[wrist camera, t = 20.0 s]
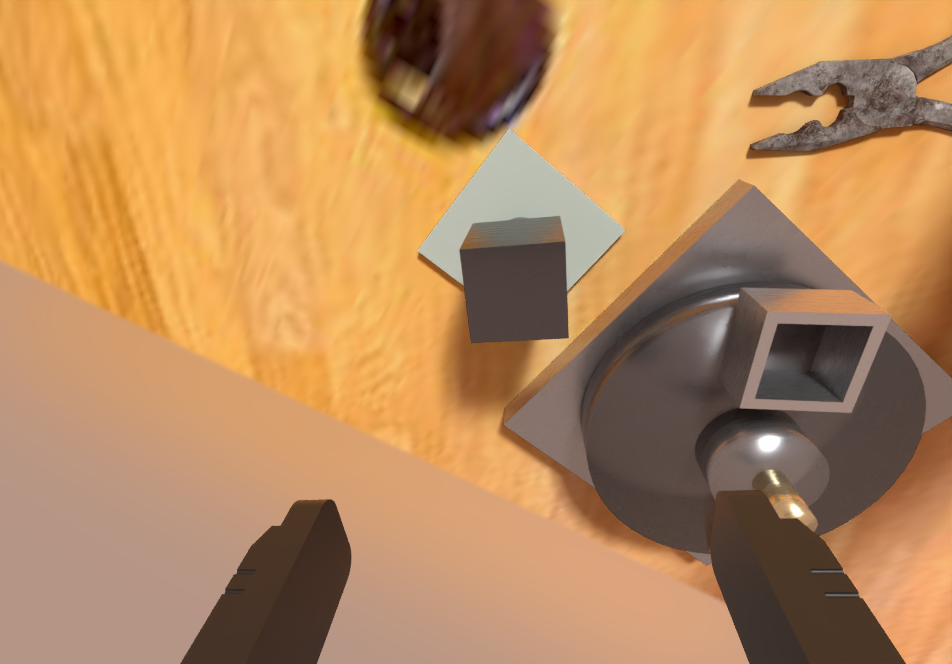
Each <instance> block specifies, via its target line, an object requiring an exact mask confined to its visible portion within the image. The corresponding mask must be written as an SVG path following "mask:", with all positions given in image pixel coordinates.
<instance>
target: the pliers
mask: <svg viewBox="0 0 952 664" xmlns="http://www.w3.org/2000/svg"><path fill="white" fill-rule="evenodd" d="M951 62H952V36H950V37H948V38H947V39H945V40H943V41H941V42H939V43H937V44H934V45H932V46H929V47H927V48H924V49H922V50H918V51H914V52H911V53H907V54H904V55H901V56H897V57H894V58H891V59H871V60H845V61H821V62H818V63H816V64H814V65H811V66H809V67H807V68H804V69H802V70H800V71H797V72H795V73H793V74H790V75H788V76H786V77H783V78H781V79H779V80H776V81H774V82H772V83H769V84H767V85H765V86H763V87H760V88H758V89H756V90H753V94H752V95H788V94H790V93H793V91H798V90H800V91H804V93H805V94H807V95H822V94H823V92H824V91H825V90H826V88H827V87H828V86H829V85H832V84H834V83H836V84H838V85H840V86H841V93H842V95H849V100H848V106H849V107H847V108H844V109H841V110H840V112H839V115H838V118H837V120H836V121H835V122H833V123H832V124H831V125H830V126H828V127H823V126H822V124H821V123H820V122H819V121H817V120H813V121H810V122H808V123H805V125H803V126H802V128H800V129H799V130H798V131H796V132H794V133H791V134H784V133H782V134H781V133H779V134H776V135H774V136H771V137H769V138H766V139H763V140H761V141H758V142H756V143H753V144H750V146H751V149H754V150H795V151H815V150H819V149H822V148H825V147H828V146H832V145H835V144H838V143H841V142H844V141H848V140H851V139H854V138H857V137H861V136H863V135H866V134H869V133H872V132H875V131H878V130H880V128H893V127H903V126H911V125H929V126H934V127H940V128H943V129H947V130H950V131H952V104H950V103H946V102H942V101H938V100H932V99H927V98H922V97H917V96H915V93H916V86H917V83H918V82H919V81H921V80H922V79H923V78H925V77H926V76H928V75H930V74H932V73H933V72H935V71H937V70H939V69H940V68H942V67H944V66H946V65H947V64H949V63H951Z"/></svg>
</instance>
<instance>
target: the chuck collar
mask: <svg viewBox="0 0 952 664" xmlns="http://www.w3.org/2000/svg"><path fill="white" fill-rule="evenodd" d="M891 317H892V314H891V313H889V312H887V311H886V310H884V309H882V308H881V307H879V306H877V305H876V304H874V303H872V302H870V301H869V300H867V299H865V298H864V297H862V296H860V295H859V294H857V293H855V292H854V291H852V290H821V289H811V288H808V287H804V286H799V285H794V284H789V283H780V282H768V281H758V282H740V283H733V284H726V285H720V286H716V287H712V288H708V289H705V290H701V291H697V292H695V293H692V294H689V295H687V296H684V297H682V298H679V299H676V300H674V301H672V302H670V303H669V304H667V305H665V306H663V307H661V308H659V309H657V310H655V311H654V312H652V313H651V314H649V315H648V316H646V317H645V318H643V319H642V320H640V321H639V322H637V323H636V324H635V325H634V326H633V327H631V328H630V329H629V330H628V331H627V332H626V333H624V334H623V335H622V336H621V337H620V338H619V339H618V340H617V342H616V343H615V344H614V345H613V346H612V347H611V348H610V349H609V350H608V352H607V353H606V355H605V356H604V357H603V359H602V360H601V362H600V363H599V364H598V366H597V368H596V370H595V372H594V374H593V376H592V378H591V379H590V382H589V385H588V388H587V390H586V393H585V397H584V402H583V407H582V422H581V426H582V434H583V441H584V446H585V452H586V457H587V462H588V468H589V472H590V475H591V478H592V481H593V484H594V486H595V488H596V490H597V492H598V494H599V496H600V498H601V499H602V500H603V502H604V503H605V505H606V506H607V507H608V509H609V510H610V511H611V512H612V513H613V514H614V515H615V516H616V517H617V518H618V519H619V520H620V521H622V522H623V523H624V524H626V525H627V526H628V527H629V528H631V529H632V530H634V531H636V532H637V533H639V534H641V535H643V536H644V537H646V538H648V539H651V540H653V541H655V542H658V543H660V544H663V545H666V546H669V547H672V548H676V549H680V550H684V551H689V552H694V553H703V554H711V553H710V541H711V533H712V525H713V517H714V509H715V501H716V495H717V493H718V492H719V491H736V490H761V491H762V492H764V494H765V495H766V496H767V498H768V499H769V501H770V503H771V504H772V506H773V508H774V509H775V511H776V513H777V514H778V516H779V518H797V519H799V520H800V521H801V522H802V523H803V524H805V525H806V526H807V527H808V528H809V529H811V530H812V531H813V532H814V533H815V534H817V535H818V536H820V535H822V534H825V533H827V532H829V531H831V530H833V529H835V528H837V527H839V526H841V525H842V524H844V523H846V522H848V521H849V520H851V519H852V518H854V517H855V516H857V515H858V514H860V513H862V512H863V511H864V510H865V509H867V508H868V507H869V506H870V505H872V504H873V503H874V502H876V501H877V500H878V499H879V498H880V497H881V496H882V495H883V494H884V493H885V492H886V491H887V490H888V489H889V488H890V487H891V486H892V485H893V484H894V483H895V481H896V480H897V479H898V478H899V476H900V475H901V474H902V473H903V471H904V470H905V468H906V467H907V465H908V463H909V462H910V460H911V458H912V457H913V455H914V453H915V451H916V448H917V446H918V443H919V441H920V439H921V435H922V431H923V427H924V423H925V414H926V398H925V391H924V385H923V382H922V379H921V376H920V373H919V370H918V368H917V366H916V365H915V363H914V361H913V360H912V358H911V356H910V354H909V353H908V352H907V351H906V350H905V348H904V347H903V346H902V345H901V344H900V343H899V342H898V341H897V340H896V339H895V338H894V337H893V336H892V335H890V334H889V333H888V332H886V329H887V327H888V324H889V322H890V320H891Z"/></svg>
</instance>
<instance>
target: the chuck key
mask: <svg viewBox="0 0 952 664" xmlns="http://www.w3.org/2000/svg"><path fill="white" fill-rule="evenodd" d="M459 252H460V260H461V268H462V275H463V283H464V291H465V299H466V307H467V314H468V322H469V330H470V338H471V343H481V342H501V341H522V340H542V339H562V338H569V336H568V306H567V275H566V245H565V237H564V232H563V228H562V223H561V218H560V216H551V217H540V218H525V217H518V218H514V219H511V220H505V221H493V222H482V223H473V224H472V226H471V228H470V230H469V232H468V234H467V236H466V238H465V239H464V241H463V243H462V245H461V247H460V249H459Z"/></svg>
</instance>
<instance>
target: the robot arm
mask: <svg viewBox="0 0 952 664" xmlns="http://www.w3.org/2000/svg"><path fill="white" fill-rule="evenodd" d="M710 553H711V560H712V565H713V570H714V573H715V576H716V579H717V582H718V584H719V587H720V589H721V592H722V594H723V597H724V600H725V602H726V605H727V607H728V610H729V612H730V615H731V617H732V620H733V623H734V625H735V628H736V630H737V633H738V635H739V638H740V640H741V643H742V645H743V648H744V651H745V653H746V656H747V658H748V661H749V663H750V664H906V663H905V662H904V660H903V659H902V657H901V656H900V654H899V653H898V651H897V649H896V648H895V646H894V645H893V643H892V642H891V640H890V639H889V637H888V636H887V634H886V633H885V631H884V630H883V628H882V627H881V625H880V624H879V622H878V621H877V619H876V618H875V616H874V615H873V613H872V612H871V610H870V609H869V607H868V606H867V604H866V603H865V601H864V600H863V598H860V597H859V594H858V591H857V589H856V588H855V586H854V585H853V583H852V582H851V580H850V579H849V577H848V576H847V574H844V573H843V568H842V567H841V565H840V564H839V562H838V561H837V559H836V558H835V556H834V555H833V553H832V552H831V550H830V549H829V547H828V546H827V544H826V543H825V541H824V540H822V539H821V538H820V537H819V536H818V535H817V534H815V533H814V532H813V531H812V530H811V529H809V528H808V527H807V526H806V525H805V524H803V523H802V522H801V521H800V520H799V519H797V518H779V516H778V514H777V513H776V511H775V509H774V508H773V506H772V504H771V503H770V501H769V499H768V498H767V496H766V495H765V494H764V492H762V491H761V490H736V491H719V492H718V493H717V495H716V501H715V509H714V517H713V525H712V533H711V541H710ZM350 567H351V549H350V544H349V542H348V539H347V536H346V533H345V530H344V527H343V524H342V521H341V518H340V515H339V512H338V510H337V507H336V504H335V502H334V501H333V500H298V501H296V502H295V503H294V504H293V505H292V507H291V508H290V510H289V512H288V514H287V516H286V517H285V519H284V521H283V523H282V524H281V526H272V527H271V528H269V529H268V530H267V531H266V532H265V533H264V534H263V535H262V536H261V537H260V538H259V539H258V540H257V541H256V542H255V543H254V544H253V545H252V546H251V547H250V549H249V551H248V553H247V554H246V556H245V557H244V559H243V561H242V562H241V564H240V566H239V567H238V569H237V574H235V575H234V576H233V577H232V579H231V580H230V582H229V584H228V586H227V587H226V589H225V590H226V591H225V594H222V595H221V597H220V599H219V600H218V602H217V604H216V606H215V607H214V609H213V610H212V612H211V614H210V616H209V617H208V619H207V620H206V622H205V624H204V626H203V627H202V629H201V630H200V632H199V634H198V635H197V637H196V639H195V640H194V642H193V644H192V645H191V647H190V649H189V650H188V652H187V654H186V655H185V657H184V659H183V660H182V662H181V664H317V662H318V659H319V656H320V653H321V651H322V648H323V645H324V642H325V640H326V637H327V634H328V631H329V628H330V626H331V623H332V620H333V618H334V615H335V612H336V609H337V607H338V604H339V601H340V598H341V596H342V593H343V590H344V587H345V585H346V582H347V579H348V576H349V572H350Z"/></svg>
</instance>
